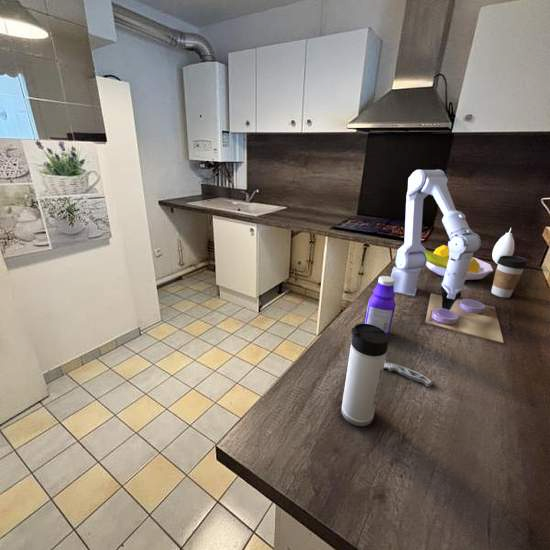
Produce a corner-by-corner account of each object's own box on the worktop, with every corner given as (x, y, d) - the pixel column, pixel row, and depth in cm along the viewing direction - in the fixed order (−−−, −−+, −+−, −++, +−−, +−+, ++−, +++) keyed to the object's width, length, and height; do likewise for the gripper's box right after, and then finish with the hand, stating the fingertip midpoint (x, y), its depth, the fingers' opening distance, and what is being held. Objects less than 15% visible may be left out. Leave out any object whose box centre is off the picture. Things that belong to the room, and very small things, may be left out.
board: (424, 323, 91) (425, 322, 90) (430, 294, 110) (430, 293, 110) (503, 344, 81) (503, 342, 81) (494, 308, 101) (494, 307, 100)
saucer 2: (459, 309, 98) (460, 304, 97) (458, 301, 104) (460, 296, 103) (484, 315, 95) (486, 310, 94) (482, 306, 101) (484, 301, 100)
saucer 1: (431, 320, 91) (432, 315, 91) (431, 310, 97) (433, 305, 97) (457, 326, 88) (458, 321, 88) (456, 316, 94) (458, 311, 93)
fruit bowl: (483, 269, 135) (491, 246, 130) (492, 292, 112) (501, 265, 108) (417, 259, 146) (422, 237, 142) (413, 277, 124) (419, 252, 120)
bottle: (389, 329, 87) (400, 276, 80) (389, 340, 82) (401, 284, 75) (364, 324, 89) (372, 272, 82) (363, 335, 84) (372, 280, 77)
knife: (354, 361, 74) (358, 355, 76) (431, 389, 66) (432, 380, 68) (355, 356, 73) (359, 350, 76) (432, 383, 65) (433, 375, 67)
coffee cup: (518, 301, 106) (534, 262, 100) (493, 298, 107) (506, 260, 102) (506, 291, 114) (520, 255, 108) (483, 289, 115) (495, 253, 109)
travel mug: (335, 402, 61) (347, 320, 54) (366, 400, 62) (381, 320, 54) (344, 428, 56) (358, 341, 48) (378, 426, 56) (397, 339, 48)
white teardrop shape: (509, 263, 142) (522, 227, 135) (507, 268, 137) (521, 230, 130) (490, 260, 147) (501, 224, 140) (487, 263, 142) (499, 227, 135)
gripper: (472, 282, 83) (459, 323, 88) (470, 267, 94) (459, 303, 100) (444, 277, 86) (433, 317, 91) (445, 262, 98) (436, 298, 103)
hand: (445, 309), depth 96 cm, fingers closed
